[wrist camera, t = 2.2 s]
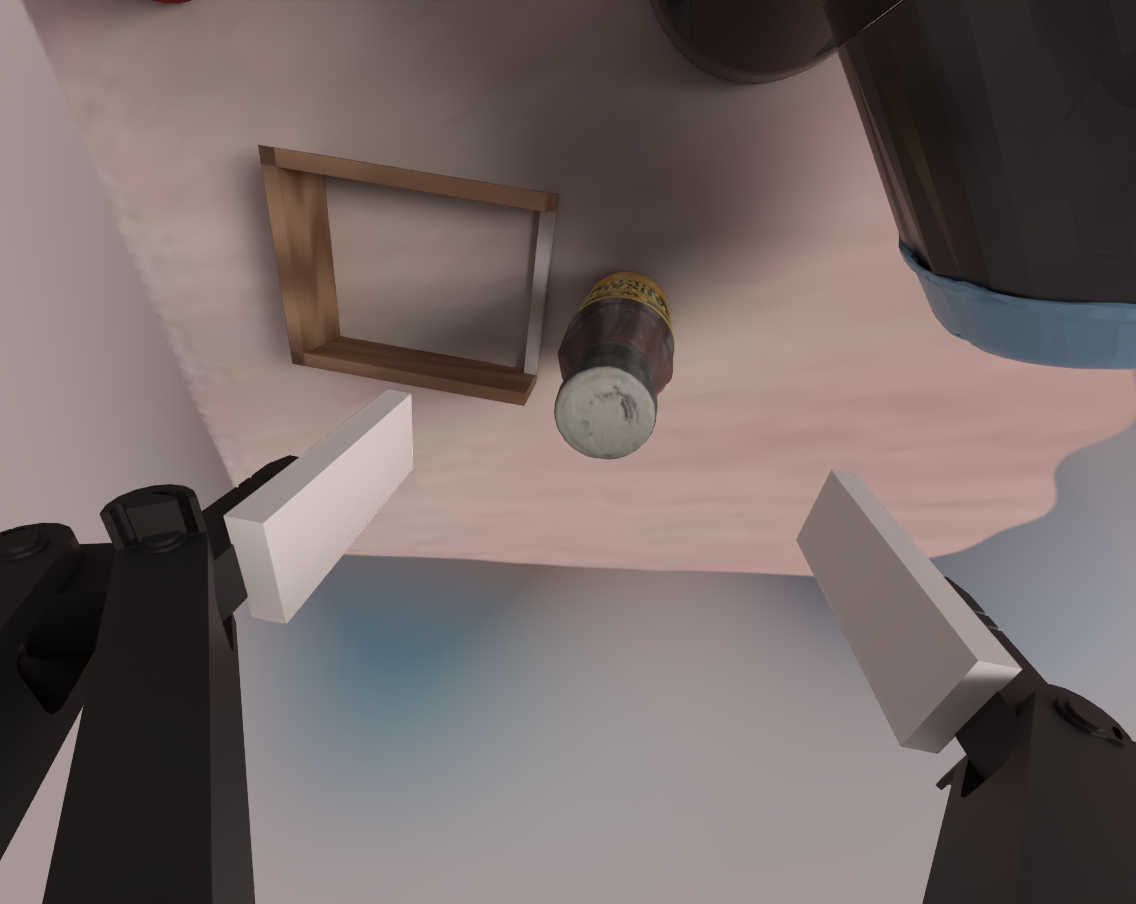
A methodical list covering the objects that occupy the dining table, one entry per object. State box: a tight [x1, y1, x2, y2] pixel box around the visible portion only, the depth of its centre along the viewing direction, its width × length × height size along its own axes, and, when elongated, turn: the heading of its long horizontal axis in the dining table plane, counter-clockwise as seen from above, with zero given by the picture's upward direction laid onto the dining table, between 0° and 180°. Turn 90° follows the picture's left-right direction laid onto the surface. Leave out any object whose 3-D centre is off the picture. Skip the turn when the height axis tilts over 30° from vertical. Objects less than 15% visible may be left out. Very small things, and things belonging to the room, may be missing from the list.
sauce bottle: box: [554, 272, 674, 459], centre depth 26 cm, size 7×6×20 cm
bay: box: [258, 145, 558, 406], centre depth 33 cm, size 14×18×5 cm
